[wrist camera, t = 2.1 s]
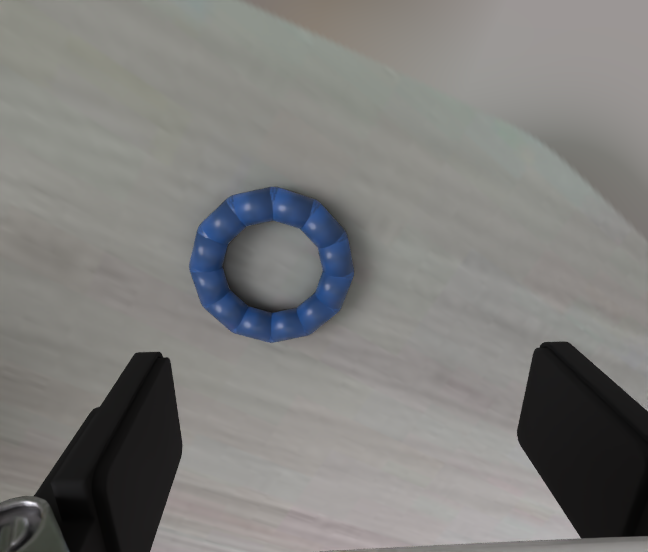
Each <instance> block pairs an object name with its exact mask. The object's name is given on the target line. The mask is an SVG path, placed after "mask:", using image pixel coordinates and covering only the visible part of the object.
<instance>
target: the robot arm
mask: <svg viewBox="0 0 648 552" xmlns="http://www.w3.org/2000/svg"><path fill="white" fill-rule="evenodd" d="M517 436H518V441H519V443H520V445H521V447H522V449H523V450H524V452H525V453H526V455H527V456H528V458H529V459H530V461H531V462H532V464H533V465H534V467H535V468H536V470H537V471H538V473H539V475H540V476H541V478H542V479H543V481H544V482H545V484H546V485H547V487H548V488H549V490H550V491H551V493H552V494H553V496H554V497H555V499H556V501H557V502H558V504H559V505H560V507H561V508H562V510H563V511H564V513H565V514H566V516H567V517H568V519H569V520H570V522H571V523H572V525H573V527H574V528H575V530H576V531H577V533H578V534H579V536H580V537H581V539H561V540H539V541H516V542H494V543H474V544H454V545H434V546H414V547H395V548H375V549H356V550H338V551H321V552H648V411H647V410H645V409H644V408H643V407H642V406H641V405H640V404H639V403H637V402H636V401H635V400H634V399H633V398H632V397H631V396H629V395H628V394H627V393H626V392H625V391H624V390H623V389H621V388H620V387H619V386H618V385H617V384H616V383H615V382H613V381H612V380H611V379H610V378H609V377H608V376H607V375H605V374H604V373H603V372H602V371H601V370H600V369H599V368H598V367H596V366H595V365H594V364H593V363H592V362H591V361H590V360H588V359H587V358H586V357H585V356H584V355H583V354H582V353H580V352H579V351H578V350H577V349H576V348H575V347H574V346H572V345H571V344H570V343H568V342H544V343H542V344H541V345H540V348H536V349H535V351H534V353H533V357H532V362H531V367H530V372H529V377H528V381H527V386H526V391H525V396H524V401H523V405H522V410H521V415H520V420H519V424H518V429H517ZM181 455H182V438H181V431H180V424H179V417H178V410H177V403H176V397H175V390H174V383H173V376H172V369H171V363H170V359H169V358H163V356H162V354H161V353H160V352H138V353H135V354H134V356H133V357H132V359H131V360H130V362H129V363H128V365H127V366H126V368H125V369H124V371H123V372H122V374H121V375H120V377H119V379H118V380H117V382H116V383H115V385H114V386H113V388H112V389H111V391H110V392H109V394H108V395H107V397H106V398H105V400H104V401H103V403H102V404H101V406H100V407H97V408H95V409H93V410H92V411H91V413H90V414H89V415H88V417H87V418H86V420H85V421H84V423H83V424H82V426H81V427H80V429H79V430H78V432H77V433H76V435H75V436H74V438H73V439H72V440H71V442H70V443H69V445H68V446H67V448H66V449H65V451H64V452H63V454H62V455H61V457H60V458H59V460H58V461H57V463H56V464H55V466H54V467H53V469H52V470H51V472H50V473H49V475H48V476H47V478H46V479H45V481H44V482H43V484H42V485H41V486H40V488H39V489H38V491H37V492H36V494H35V495H34V496H22V497H18V498H13V499H9V500H6V501H4V502H1V503H0V552H150V550H151V547H152V544H153V541H154V538H155V535H156V532H157V529H158V526H159V523H160V520H161V517H162V514H163V511H164V508H165V505H166V502H167V499H168V496H169V492H170V489H171V486H172V483H173V480H174V477H175V474H176V471H177V468H178V465H179V462H180V459H181Z"/></svg>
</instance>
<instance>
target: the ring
mask: <svg viewBox="0 0 648 552" xmlns="http://www.w3.org/2000/svg"><path fill="white" fill-rule="evenodd" d="M273 220H274V221H277V222H280V223H283V224H287V225H290V226H293V227H296V228H300V229H301V230H302V231H303V232H304V233H305V234H306V235H307V237H308V238H309V239H310V240H311V241H312V242H313V243H314V244H315V245H316V246H317V247H318V251H319V255H320V260H321V264H322V269H323V272H322V275H321V278H320V280H319V283H318V286H317V289H316V292H315V293H314V294H313V295H312V296H310V297H309V298H308V299H307V300H306V301H304V302H303V303H302V304H301V305H300V306H298V307H297V308H293V309H288V310H283V311H278V312H274V313H272V312H268V311H264V310H261V309H257V308H253V307H250V306H247V305H246V304H245V303H244V302H243V301H242V300H241V299H240V298H239V297H238V296H236V295H235V294H234V293H233V292H232V291H231V290H230V289H229V286H228V283H227V280H226V277H225V273H224V270H223V267H222V265H223V261H224V258H225V254H226V250H227V246H228V243H229V242H230V241H231V240H232V239H233V238H235V237H236V236H237V235H238V234H239V233H240V232H241V231H242V230H243V229H244V228H245V227H246V226H250V225H254V224H259V223H264V222H268V221H273ZM189 268H190V272H191V275H192V278H193V281H194V284H195V287H196V290H197V293H198V296H199V298H200V301H201V304H202V306H203V307H204V308H205V309H206V310H207V311H208V312H209V313H211V314H212V315H213V316H214V317H215V318H216V319H217V320H218V321H220V322H221V323H222V324H223V325H224V326H225V327H226V328H227V329H229V330H230V331H231V332H233V333H235V334H239V335H242V336H246V337H250V338H254V339H258V340H262V341H265V342H270V343H273V342H279V341H284V340H288V339H293V338H298V337H303V336H308V335H310V334H312V333H313V332H314V331H316V330H317V329H318V328H319V327H321V326H322V325H323V324H324V323H326V322H327V321H328V320H329V319H330V318H332V317H333V316H334V315H335V314H337V313H338V312H339V311H340V309H341V307H342V305H343V302H344V300H345V297H346V295H347V292H348V289H349V287H350V284H351V281H352V279H353V276H354V267H353V262H352V256H351V251H350V246H349V241H348V236H347V233H346V231H345V230H344V229H343V227H342V226H341V225H340V224H339V223H338V222H337V221H336V220H335V219H334V218H333V216H332V215H331V214H330V213H329V212H328V211H327V210H326V209H325V208H324V206H323V205H322V204H321V203H320V202H319V201H317V200H316V199H313V198H310V197H307V196H304V195H300V194H297V193H294V192H291V191H288V190H285V189H282V188H279V187H268V188H264V189H259V190H254V191H250V192H245V193H240V194H236V195H232V196H230V197H229V198H227V199H226V200H225V201H224V202H223V203H222V204H221V205H220V206H219V207H218V208H217V209H216V210H215V211H214V212H213V213H211V214H210V215H209V216H208V217H207V218H206V219H205V220H204V221H203V222H202V223H201V224H200V226H199V227H198V230H197V234H196V238H195V242H194V247H193V251H192V255H191V259H190V264H189Z"/></svg>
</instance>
